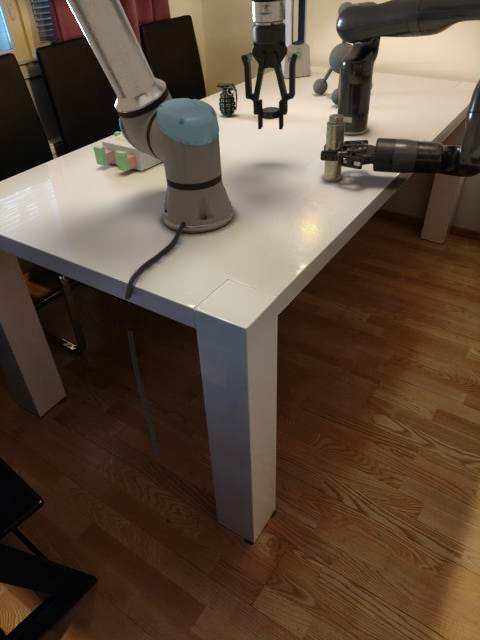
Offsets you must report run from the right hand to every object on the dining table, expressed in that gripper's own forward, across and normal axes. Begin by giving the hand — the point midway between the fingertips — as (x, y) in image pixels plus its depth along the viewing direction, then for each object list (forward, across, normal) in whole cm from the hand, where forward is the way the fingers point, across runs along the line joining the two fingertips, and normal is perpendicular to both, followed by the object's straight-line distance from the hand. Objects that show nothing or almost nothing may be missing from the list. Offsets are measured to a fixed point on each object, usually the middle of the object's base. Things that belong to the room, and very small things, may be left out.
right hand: (322, 151), depth 118 cm
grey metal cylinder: (-3, 0, +6) cm, 7 cm away
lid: (+15, -7, -7) cm, 18 cm away
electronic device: (+31, -112, +6) cm, 116 cm away
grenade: (+41, -49, +6) cm, 64 cm away
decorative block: (+52, -6, +6) cm, 53 cm away
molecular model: (+4, -77, +6) cm, 77 cm away
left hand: (+15, -7, -3) cm, 17 cm away
